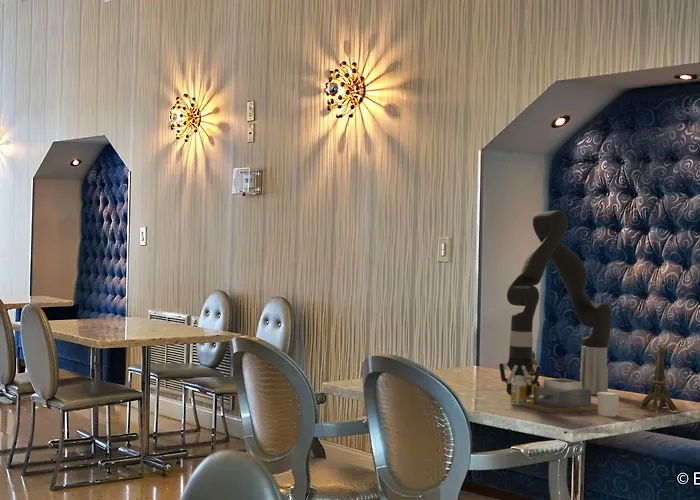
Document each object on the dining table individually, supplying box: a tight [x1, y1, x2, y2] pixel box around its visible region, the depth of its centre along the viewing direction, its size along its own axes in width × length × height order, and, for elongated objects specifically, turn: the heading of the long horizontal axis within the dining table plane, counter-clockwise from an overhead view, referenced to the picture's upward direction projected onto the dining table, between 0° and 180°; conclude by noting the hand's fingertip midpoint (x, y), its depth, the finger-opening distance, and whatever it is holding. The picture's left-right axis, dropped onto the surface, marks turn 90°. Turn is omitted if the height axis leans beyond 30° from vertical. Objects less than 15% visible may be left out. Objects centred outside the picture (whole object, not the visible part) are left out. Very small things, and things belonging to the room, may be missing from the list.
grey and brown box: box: [521, 378, 598, 415], centre depth 324 cm, size 22×14×9 cm, turn 121°
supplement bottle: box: [510, 375, 528, 406], centre depth 329 cm, size 5×5×10 cm
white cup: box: [596, 391, 621, 417], centre depth 315 cm, size 7×7×7 cm
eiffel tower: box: [636, 334, 679, 413], centre depth 329 cm, size 11×11×25 cm
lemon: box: [525, 375, 537, 398], centre depth 346 cm, size 6×6×8 cm
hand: (518, 395), depth 329 cm, fingers closed on supplement bottle, 5 cm apart
